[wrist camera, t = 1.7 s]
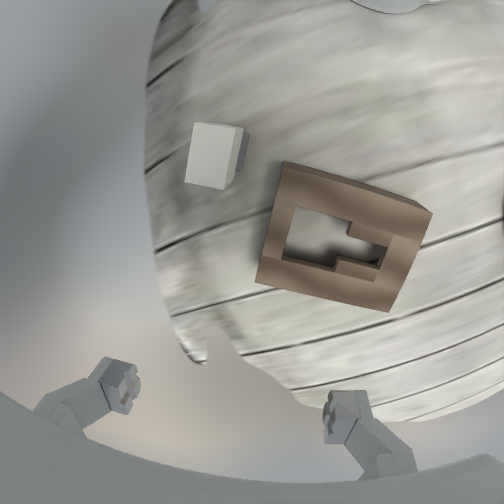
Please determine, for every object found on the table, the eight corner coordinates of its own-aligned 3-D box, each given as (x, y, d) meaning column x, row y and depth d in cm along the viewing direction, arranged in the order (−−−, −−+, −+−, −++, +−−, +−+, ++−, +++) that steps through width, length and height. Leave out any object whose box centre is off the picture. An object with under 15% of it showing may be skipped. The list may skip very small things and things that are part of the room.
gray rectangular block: (214, 121, 33) (191, 121, 25) (250, 128, 33) (238, 129, 25) (205, 168, 35) (182, 181, 28) (240, 175, 35) (226, 190, 28)
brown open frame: (284, 160, 34) (283, 167, 29) (416, 201, 33) (432, 213, 29) (259, 262, 40) (254, 282, 35) (379, 291, 40) (388, 312, 35)
